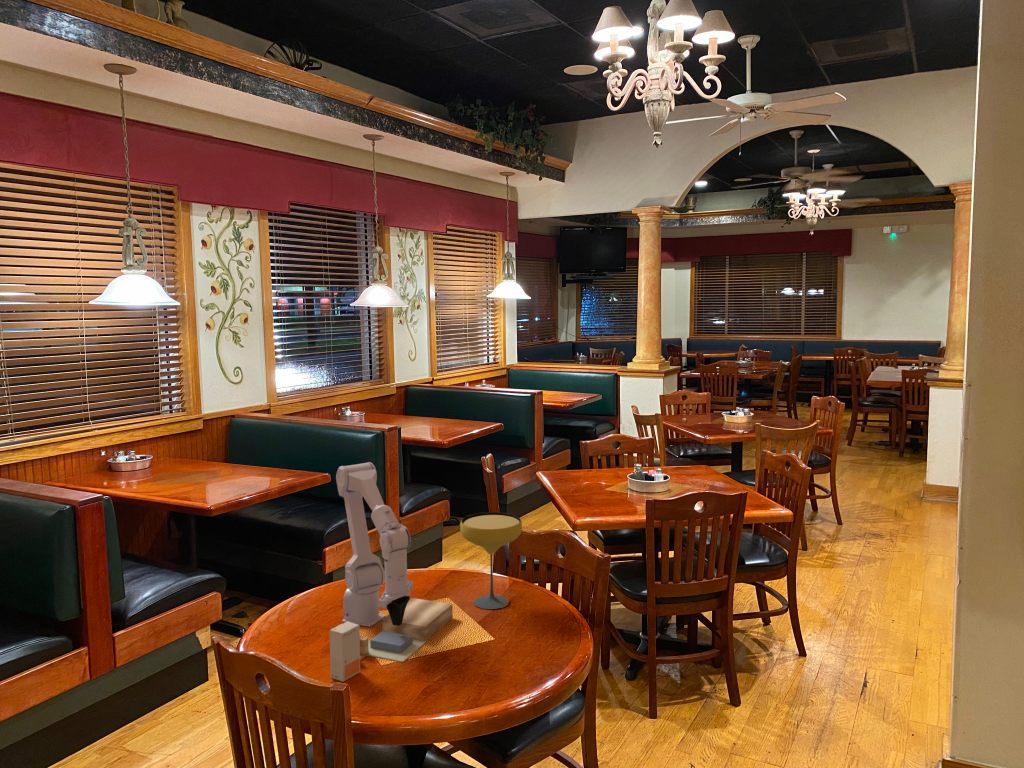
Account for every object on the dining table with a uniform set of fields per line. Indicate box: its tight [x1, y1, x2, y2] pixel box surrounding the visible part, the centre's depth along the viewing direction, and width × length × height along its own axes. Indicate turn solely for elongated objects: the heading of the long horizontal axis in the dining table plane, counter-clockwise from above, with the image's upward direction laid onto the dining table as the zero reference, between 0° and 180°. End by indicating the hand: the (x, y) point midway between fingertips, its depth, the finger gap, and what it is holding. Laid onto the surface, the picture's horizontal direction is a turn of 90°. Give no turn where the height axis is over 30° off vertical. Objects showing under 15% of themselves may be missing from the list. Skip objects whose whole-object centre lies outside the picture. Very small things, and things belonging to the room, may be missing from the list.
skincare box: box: [329, 621, 361, 683], centre depth 182 cm, size 6×4×12 cm
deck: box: [381, 597, 454, 642], centre depth 210 cm, size 13×16×4 cm
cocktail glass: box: [459, 511, 523, 610], centre depth 224 cm, size 18×18×25 cm
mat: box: [367, 639, 427, 663], centre depth 197 cm, size 14×12×1 cm
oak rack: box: [360, 636, 369, 661], centre depth 191 cm, size 5×6×4 cm
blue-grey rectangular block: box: [369, 630, 413, 653], centre depth 197 cm, size 9×6×2 cm, turn 68°
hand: (397, 624), depth 199 cm, fingers closed
